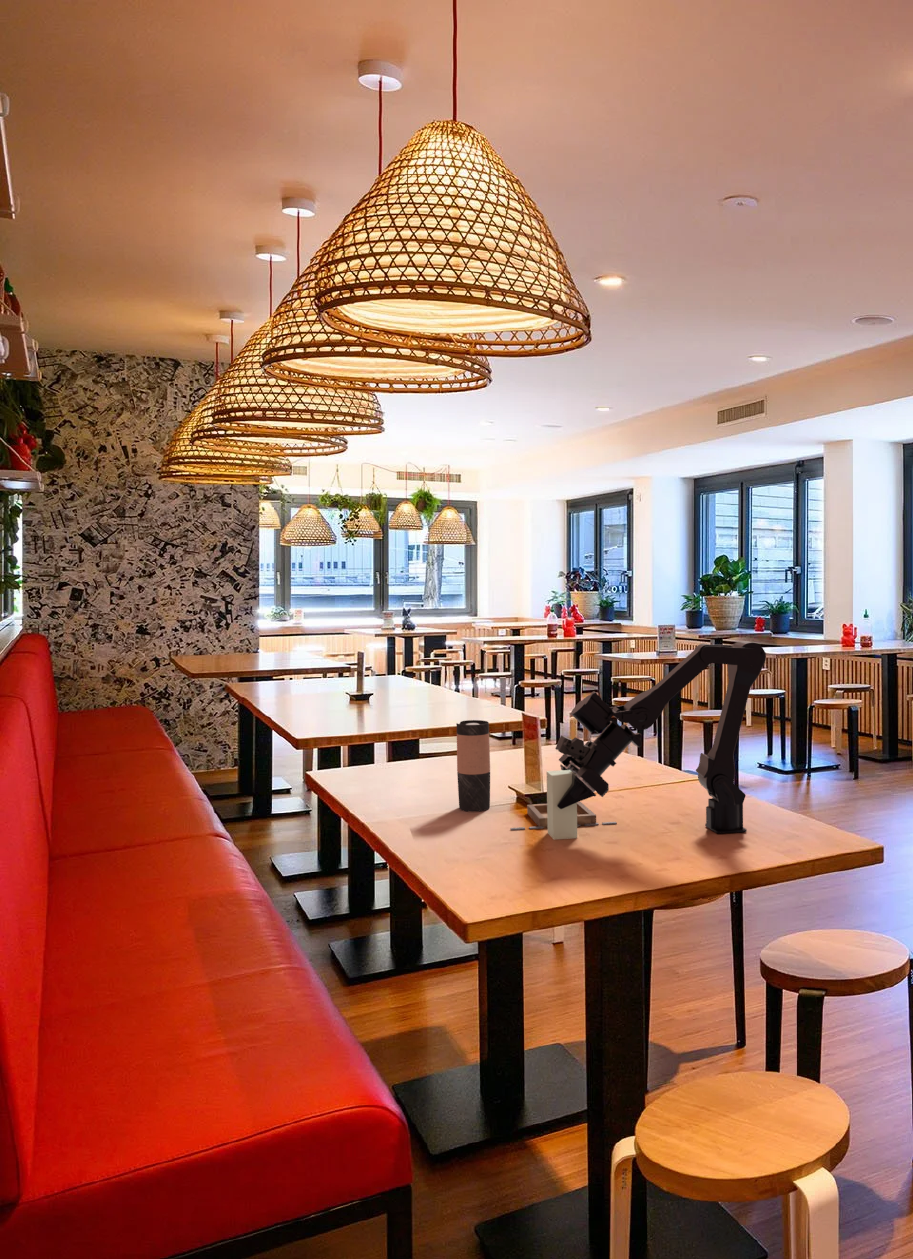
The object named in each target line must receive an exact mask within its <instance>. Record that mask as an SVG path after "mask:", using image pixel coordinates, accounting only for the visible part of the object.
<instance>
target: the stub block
mask: <svg viewBox="0 0 913 1259" xmlns="http://www.w3.org/2000/svg"><path fill="white" fill-rule="evenodd" d="M572 773H573V772H572V771H571V770H561V769H560V770H546V804H547V825H548V827H547V835H548V836H550V837H551V838H552V839H553V841H554V840H567V839H568V840H569V839H570V840H571V839H578V826H577V803H575V804H572V805H570V806H568V807H565V808H563V809H560V808H559V807H558V806H557V805H558V803H559V801H560V800H561V798H562V797H563V796H564V794H565V793H566V791H567V790H568V788H569V787H570V786H571V784H572ZM573 774H574V775H576V774H575V773H573Z"/></svg>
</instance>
